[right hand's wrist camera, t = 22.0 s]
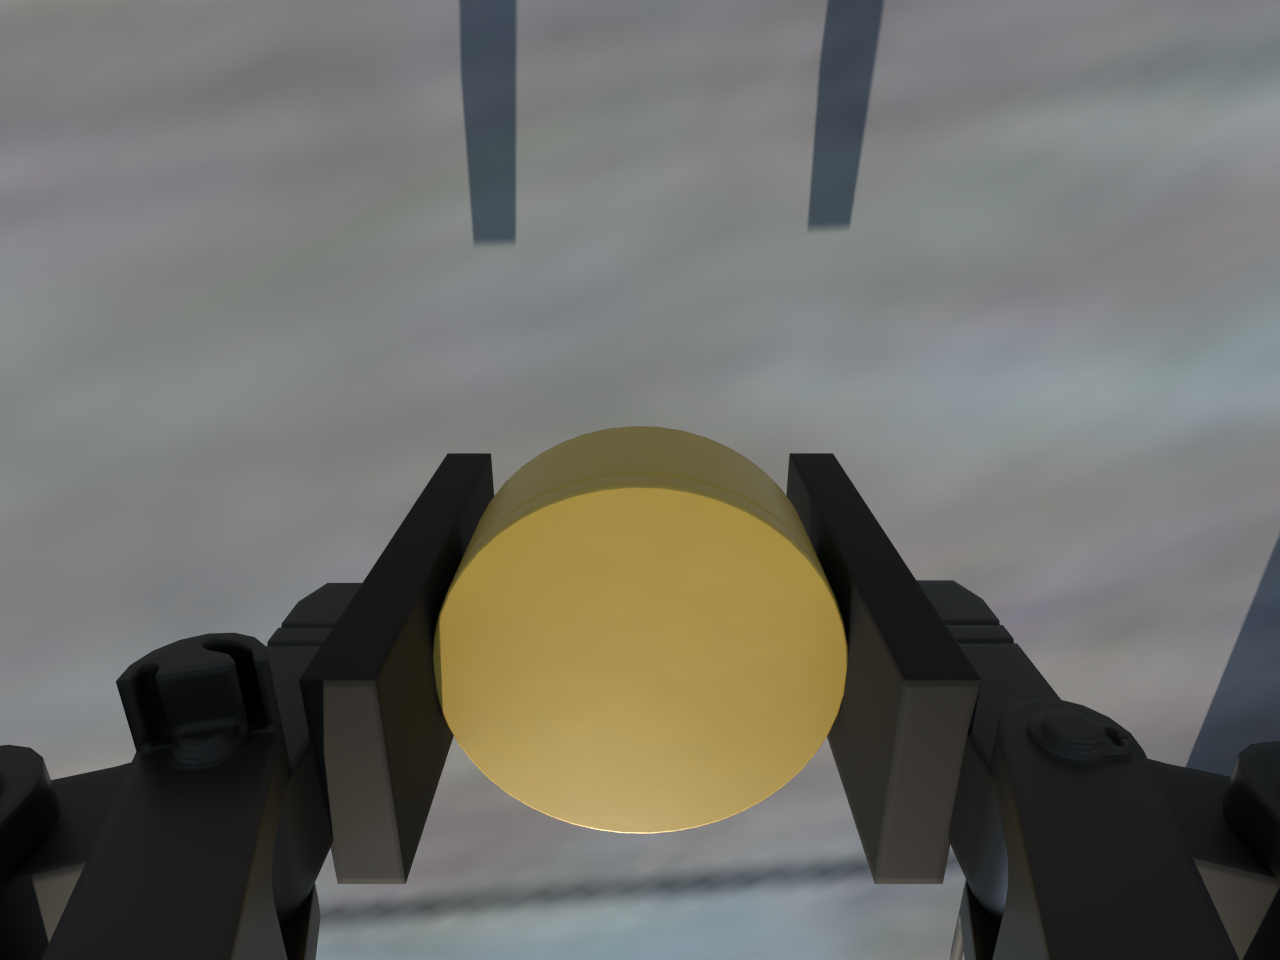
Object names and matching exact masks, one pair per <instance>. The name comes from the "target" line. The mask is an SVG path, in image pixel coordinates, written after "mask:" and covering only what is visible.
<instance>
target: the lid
mask: <svg viewBox="0 0 1280 960" xmlns="http://www.w3.org/2000/svg"><path fill="white" fill-rule="evenodd" d="M847 662H848V643H847V637H846V631H845V625H844V621H843V618H842V615H841V612H840V609H839V606H838V603H837V600H836V598H835V595H834V593H833V591H832V589H831V587H830V584H829V582H828V579H827V577H826V575H825V573H824V570H823V568H822V566H821V564H820V561H819V559H818V557H817V554H816V552H815V550H814V548H813V545H812V543H811V541H810V539H809V536H808V534H807V532H806V529H805V527H804V525H803V523H802V521H801V519H800V517H799V515H798V513H797V512H796V510H795V508H794V506H793V505H792V503H791V502H790V501H789V499H788V498H787V496H786V495H785V494H784V492H783V491H782V489H781V488H780V487H779V486H778V485H777V484H776V483H775V482H774V481H773V480H772V479H771V478H770V477H769V476H768V475H767V474H766V473H765V472H764V471H763V470H761V469H760V468H759V467H758V466H756V465H755V464H754V463H753V462H751V461H750V460H749V459H747V458H746V457H744V456H742V455H741V454H739V453H737V452H736V451H734V450H732V449H730V448H729V447H727V446H725V445H722V444H720V443H718V442H715V441H713V440H711V439H708V438H706V437H702V436H699V435H695V434H692V433H688V432H685V431H681V430H674V429H667V428H661V427H636V426H632V427H622V428H612V429H606V430H601V431H597V432H593V433H588V434H584V435H581V436H579V437H576V438H573V439H571V440H568V441H565V442H562V443H560V444H558V445H557V446H555V447H553V448H551V449H549V450H547V451H545V452H543V453H541V454H540V455H538V456H537V457H535V458H534V459H533V460H531V461H530V462H528V463H527V464H526V465H524V466H523V467H522V468H520V469H519V470H518V471H517V472H516V473H515V474H514V475H513V476H512V477H511V478H510V479H509V480H508V481H507V482H505V484H504V485H503V486H502V487H501V489H500V490H499V491H498V492H497V494H496V495H495V496H494V497H493V499H492V500H491V502H490V503H489V505H488V507H487V508H486V510H485V512H484V514H483V515H482V517H481V519H480V521H479V523H478V525H477V528H476V530H475V532H474V534H473V536H472V539H471V541H470V543H469V545H468V547H467V550H466V552H465V554H464V556H463V558H462V561H461V563H460V565H459V567H458V569H457V572H456V574H455V576H454V579H453V580H452V583H451V585H450V587H449V589H448V592H447V594H446V597H445V599H444V602H443V604H442V606H441V609H440V611H439V615H438V619H437V624H436V628H435V632H434V639H433V663H434V672H435V681H436V689H437V695H438V700H439V704H440V706H441V709H442V711H443V714H444V716H445V719H446V721H447V724H448V726H449V728H450V729H451V731H452V733H453V735H454V736H455V738H456V740H457V741H458V743H459V745H460V746H461V748H462V749H463V750H464V751H465V753H466V754H467V755H468V757H469V758H470V759H471V760H472V762H473V763H474V764H475V765H476V766H477V767H478V768H479V769H480V770H481V771H482V772H483V773H484V774H485V775H486V776H487V777H488V778H489V779H490V780H491V781H493V782H494V783H495V784H496V785H498V786H499V787H500V788H502V789H503V790H504V791H505V792H507V793H508V794H509V795H511V796H513V797H514V798H516V799H518V800H519V801H521V802H523V803H524V804H526V805H528V806H529V807H531V808H533V809H536V810H538V811H540V812H542V813H544V814H546V815H549V816H551V817H553V818H556V819H559V820H562V821H565V822H568V823H571V824H574V825H578V826H583V827H587V828H592V829H596V830H602V831H610V832H618V833H642V834H649V833H662V832H673V831H679V830H684V829H690V828H696V827H699V826H703V825H706V824H710V823H713V822H717V821H720V820H722V819H725V818H727V817H730V816H732V815H735V814H737V813H740V812H742V811H744V810H746V809H748V808H750V807H751V806H753V805H755V804H757V803H759V802H761V801H763V800H764V799H766V798H767V797H768V796H770V795H771V794H773V793H774V792H776V791H777V790H778V789H780V788H781V787H783V786H784V785H785V784H786V783H787V782H788V781H789V780H791V779H792V778H793V777H794V776H795V775H796V774H797V773H798V772H800V771H801V769H802V768H803V767H804V766H805V765H806V764H807V763H808V761H809V760H810V759H811V758H812V757H813V756H814V754H815V753H816V752H817V750H818V749H819V747H820V746H821V744H822V743H823V741H824V740H825V738H826V737H827V735H828V733H829V731H830V729H831V727H832V725H833V723H834V721H835V719H836V716H837V714H838V711H839V708H840V705H841V702H842V698H843V695H844V688H845V680H846V672H847Z"/></svg>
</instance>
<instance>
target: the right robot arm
mask: <svg viewBox="0 0 1280 960" xmlns="http://www.w3.org/2000/svg"><path fill="white" fill-rule="evenodd" d="M493 497H494V489H493V476H492V462H491V454H447V455H446V457H445V458H444V460H443V462H442V463H441V465H440V466H439V468H438V469H437V471H436V472H435V474H434V475H433V477H432V478H431V480H430V481H429V483H428V484H427V486H426V487H425V489H424V490H423V492H422V493H421V495H420V497H419V498H418V500H417V501H416V503H415V504H414V506H413V507H412V509H411V510H410V512H409V513H408V515H407V516H406V518H405V519H404V521H403V522H402V524H401V525H400V527H399V528H398V530H397V532H396V533H395V535H394V536H393V538H392V539H391V541H390V542H389V544H388V545H387V547H386V548H385V550H384V551H383V553H382V554H381V556H380V557H379V559H378V560H377V562H376V564H375V565H374V567H373V568H372V570H371V571H370V573H369V574H368V576H367V577H366V579H365V580H364V582H363V583H327V584H325V585H324V586H322V587H321V588H319V589H318V590H316V591H315V592H313V593H311V594H310V595H308V596H307V597H305V598H304V599H302V600H301V601H299V602H298V603H297V604H296V606H295V607H294V608H293V610H292V611H291V612H290V614H289V615H288V616H287V617H286V619H285V620H284V621H283V623H282V627H281V628H278V629H277V630H276V632H275V633H274V634H273V635H272V637H271V638H270V639H269V641H268V645H267V646H265V645H263V644H262V643H261V642H260V641H258V640H257V639H256V638H255V637H251V636H247V635H242V634H238V633H215V634H205V635H201V636H196V637H191V638H187V639H182V640H179V641H176V642H174V643H171V644H169V645H166V646H164V647H161V648H159V649H156V650H154V651H152V652H150V653H149V654H147V655H146V656H144V657H142V658H141V659H139V660H138V661H136V662H135V663H133V664H131V665H130V666H129V667H128V668H127V669H126V671H125V672H124V673H123V674H122V675H121V676H120V677H119V678H118V680H117V681H116V683H117V687H118V690H119V694H120V697H121V700H122V704H123V707H124V711H125V714H126V717H127V721H128V724H129V727H130V731H131V734H132V738H133V741H134V744H135V748H136V751H137V752H136V754H135V756H134V758H133V761H132V762H131V763H128V764H124V765H120V766H117V767H112V768H108V769H103V770H98V771H93V772H89V773H84V774H79V775H74V776H70V777H65V778H60V779H55V780H51V779H50V777H49V774H48V771H47V768H46V765H45V762H44V759H43V757H42V756H40V755H39V754H38V753H36V752H35V751H34V750H33V749H31V748H28V747H21V746H13V745H3V746H0V960H315V959H316V950H317V941H318V933H319V924H320V909H319V902H318V896H317V891H316V886H315V881H316V878H317V876H318V874H319V872H320V870H321V867H322V865H323V863H324V861H325V858H326V856H327V854H328V852H329V850H330V847H331V851H332V856H333V861H334V866H335V871H336V877H337V882H338V884H406V881H407V878H408V875H409V872H410V869H411V866H412V863H413V859H414V856H415V853H416V850H417V847H418V844H419V841H420V838H421V835H422V832H423V829H424V826H425V822H426V819H427V816H428V813H429V810H430V807H431V804H432V801H433V798H434V795H435V792H436V788H437V785H438V782H439V779H440V776H441V773H442V770H443V767H444V764H445V761H446V758H447V755H448V751H449V748H450V745H451V742H452V739H453V736H454V735H453V733H452V731H451V729H450V728H449V726H448V724H447V721H446V719H445V716H444V714H443V711H442V709H441V706H440V704H439V700H438V695H437V689H436V681H435V672H434V663H433V639H434V632H435V628H436V624H437V619H438V615H439V611H440V609H441V606H442V604H443V602H444V599H445V597H446V594H447V592H448V589H449V587H450V585H451V583H452V580H453V579H454V576H455V574H456V572H457V569H458V567H459V565H460V563H461V561H462V558H463V556H464V554H465V552H466V550H467V547H468V545H469V543H470V541H471V539H472V536H473V534H474V532H475V530H476V528H477V525H478V523H479V521H480V519H481V517H482V515H483V514H484V512H485V510H486V508H487V507H488V505H489V503H490V502H491V500H492V499H493ZM787 498H788V499H789V501H790V502H791V503H792V505H793V506H794V508H795V510H796V512H797V513H798V515H799V517H800V519H801V521H802V523H803V525H804V527H805V529H806V532H807V534H808V536H809V539H810V541H811V543H812V545H813V548H814V550H815V552H816V554H817V557H818V559H819V561H820V564H821V566H822V568H823V570H824V573H825V575H826V577H827V579H828V582H829V584H830V587H831V589H832V591H833V593H834V595H835V598H836V600H837V603H838V606H839V609H840V612H841V615H842V618H843V621H844V625H845V631H846V637H847V643H848V662H847V672H846V680H845V688H844V695H843V698H842V702H841V705H840V708H839V711H838V714H837V716H836V719H835V721H834V723H833V725H832V727H831V729H830V731H829V733H828V735H827V738H828V741H829V744H830V747H831V750H832V753H833V756H834V759H835V762H836V765H837V768H838V771H839V775H840V778H841V781H842V784H843V787H844V790H845V793H846V796H847V799H848V802H849V805H850V808H851V812H852V815H853V818H854V821H855V824H856V827H857V830H858V833H859V836H860V839H861V842H862V846H863V849H864V852H865V855H866V858H867V861H868V864H869V867H870V870H871V873H872V876H873V879H874V883H875V884H943V879H944V874H945V869H946V864H947V859H948V853H949V848H950V844H951V847H952V849H953V851H954V853H955V855H956V858H957V860H958V862H959V864H960V866H961V869H962V871H963V873H964V875H965V877H966V881H965V886H964V891H963V896H962V900H961V905H960V910H959V915H958V920H957V925H956V929H955V934H954V939H953V944H952V949H951V956H950V960H962V957H963V952H964V957H965V960H1280V742H1275V741H1273V742H1265V743H1258V744H1251V745H1250V746H1249V747H1247V748H1246V749H1245V750H1244V751H1242V752H1241V753H1240V754H1239V756H1238V759H1237V762H1236V764H1235V767H1234V770H1233V773H1232V776H1231V777H1228V776H1223V775H1218V774H1213V773H1209V772H1204V771H1199V770H1194V769H1190V768H1185V767H1180V766H1175V765H1170V764H1166V763H1162V762H1158V761H1155V760H1151V759H1147V757H1146V755H1145V753H1144V751H1143V749H1142V748H1141V747H1140V745H1139V744H1138V743H1137V741H1136V740H1135V739H1134V737H1133V736H1132V735H1131V733H1130V732H1128V731H1127V730H1125V729H1124V728H1123V727H1121V726H1120V725H1119V724H1117V723H1116V722H1115V721H1113V720H1112V719H1111V718H1109V717H1107V716H1105V715H1103V714H1101V713H1098V712H1096V711H1094V710H1092V709H1090V708H1088V707H1085V706H1083V705H1079V704H1075V703H1071V702H1067V701H1063V700H1061V699H1060V698H1059V697H1058V695H1057V694H1056V693H1055V691H1054V690H1053V689H1052V688H1051V686H1050V685H1049V684H1048V682H1047V681H1046V680H1045V679H1044V677H1043V676H1042V675H1041V674H1040V672H1039V671H1038V670H1037V668H1036V667H1035V666H1034V665H1033V663H1032V662H1031V661H1030V659H1029V658H1028V657H1027V656H1026V654H1025V653H1024V652H1023V650H1022V649H1021V648H1020V647H1019V645H1018V644H1014V641H1013V640H1014V639H1013V638H1012V636H1011V635H1010V634H1009V633H1008V631H1007V630H1006V629H1005V627H1004V626H1003V625H1000V624H999V620H998V618H997V617H996V616H995V615H994V613H993V612H992V611H991V609H990V608H989V607H988V606H987V604H986V603H985V602H984V600H983V599H981V598H980V597H978V596H977V595H975V594H974V593H972V592H971V591H969V590H967V589H966V588H964V587H963V586H961V585H960V584H958V583H956V582H955V581H916V579H915V578H914V576H913V575H912V573H911V572H910V570H909V569H908V567H907V566H906V564H905V563H904V561H903V560H902V558H901V557H900V555H899V554H898V552H897V550H896V549H895V547H894V546H893V544H892V543H891V541H890V540H889V538H888V537H887V535H886V534H885V532H884V531H883V529H882V528H881V526H880V525H879V523H878V522H877V520H876V519H875V517H874V515H873V514H872V512H871V511H870V509H869V508H868V506H867V505H866V503H865V502H864V500H863V499H862V497H861V496H860V494H859V493H858V491H857V490H856V488H855V487H854V485H853V484H852V482H851V480H850V479H849V477H848V476H847V474H846V473H845V471H844V470H843V468H842V467H841V465H840V464H839V462H838V461H837V459H836V458H835V456H834V455H833V454H790V456H789V469H788V483H787Z"/></svg>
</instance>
